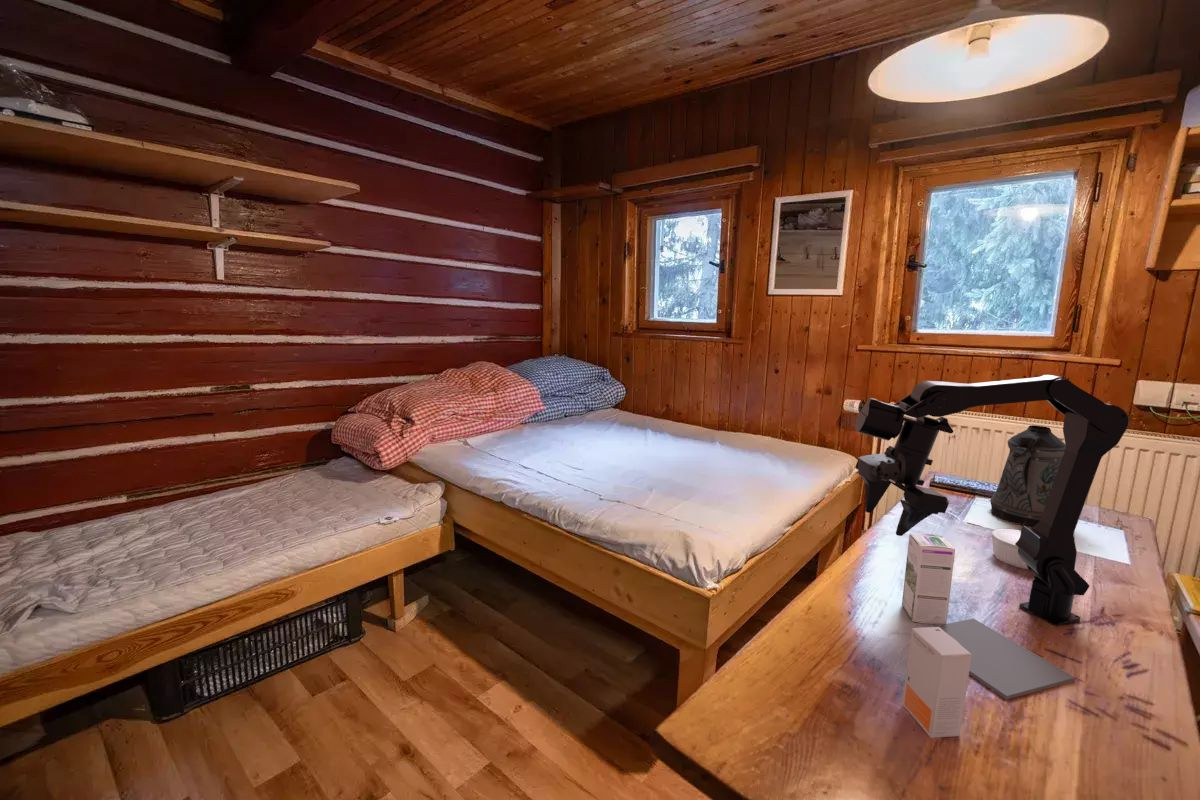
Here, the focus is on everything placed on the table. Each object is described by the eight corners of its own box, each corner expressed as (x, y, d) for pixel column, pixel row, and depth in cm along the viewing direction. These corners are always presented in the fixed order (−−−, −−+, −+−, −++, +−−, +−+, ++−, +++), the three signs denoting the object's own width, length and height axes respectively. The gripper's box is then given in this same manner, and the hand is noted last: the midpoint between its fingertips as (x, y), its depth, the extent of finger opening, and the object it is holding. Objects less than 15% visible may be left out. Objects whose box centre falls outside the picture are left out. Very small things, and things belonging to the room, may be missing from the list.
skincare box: (900, 705, 74) (910, 626, 72) (929, 703, 75) (939, 625, 73) (930, 739, 69) (942, 655, 66) (961, 737, 69) (974, 654, 67)
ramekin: (1063, 566, 116) (1067, 544, 115) (1035, 577, 111) (1039, 553, 110) (1006, 546, 126) (1009, 525, 125) (978, 555, 121) (981, 533, 120)
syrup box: (947, 626, 93) (958, 548, 91) (910, 622, 94) (920, 545, 92) (934, 608, 99) (944, 534, 96) (899, 604, 100) (908, 531, 98)
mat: (972, 621, 95) (973, 618, 95) (1074, 680, 80) (1075, 677, 80) (911, 634, 91) (911, 631, 91) (1006, 699, 76) (1006, 695, 76)
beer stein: (1060, 514, 146) (1075, 425, 142) (1075, 539, 130) (1093, 439, 126) (986, 502, 155) (999, 417, 151) (992, 524, 139) (1006, 430, 135)
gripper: (845, 424, 106) (819, 495, 110) (909, 458, 88) (876, 541, 92) (894, 434, 108) (867, 504, 112) (966, 470, 90) (931, 551, 94)
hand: (882, 523), depth 102 cm, fingers open, 9 cm apart
